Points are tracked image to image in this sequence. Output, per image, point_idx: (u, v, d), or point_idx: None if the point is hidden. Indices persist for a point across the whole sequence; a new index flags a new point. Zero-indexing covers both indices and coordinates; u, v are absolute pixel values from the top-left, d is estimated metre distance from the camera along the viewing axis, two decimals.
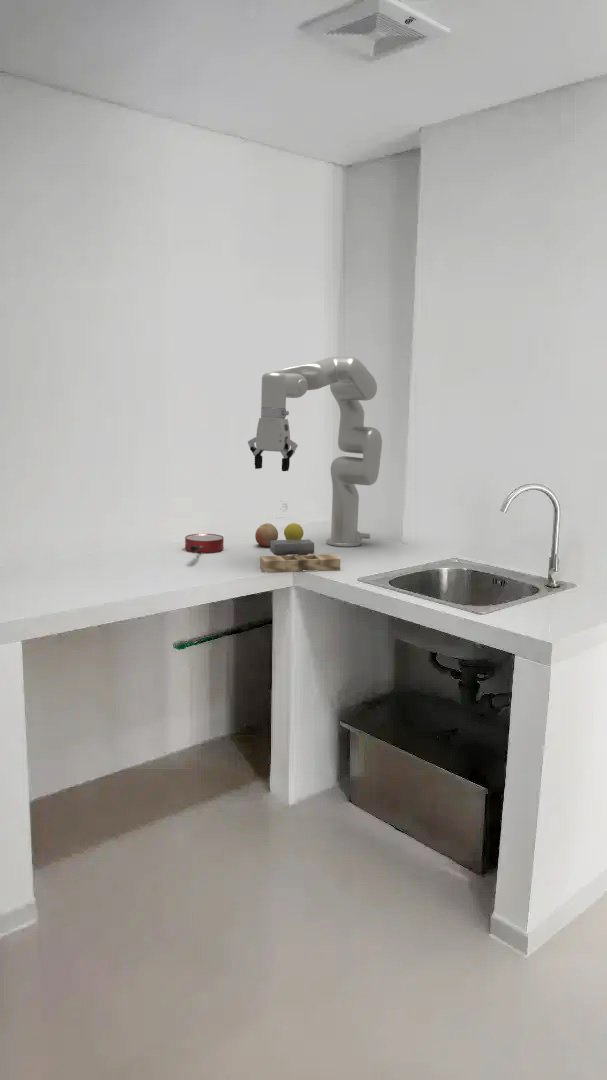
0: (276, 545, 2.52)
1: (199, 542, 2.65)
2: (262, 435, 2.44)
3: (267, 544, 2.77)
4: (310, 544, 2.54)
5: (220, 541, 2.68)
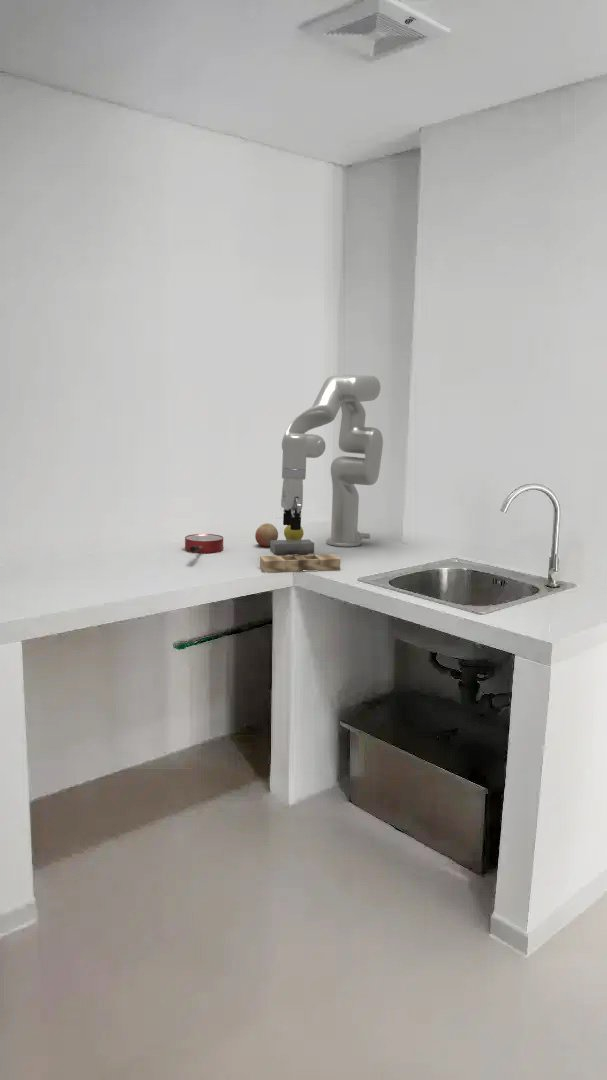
0: (276, 545, 2.52)
1: (199, 542, 2.65)
2: None
3: (267, 544, 2.77)
4: (310, 544, 2.54)
5: (220, 541, 2.68)
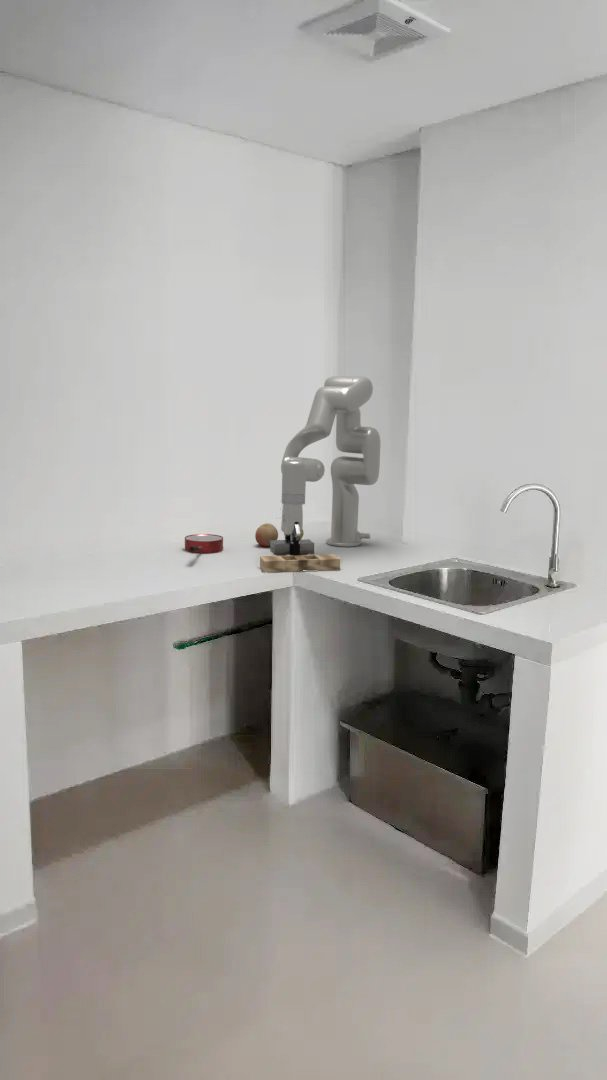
0: (276, 545, 2.52)
1: (198, 542, 2.64)
2: None
3: (267, 544, 2.77)
4: (310, 544, 2.54)
5: (220, 541, 2.68)
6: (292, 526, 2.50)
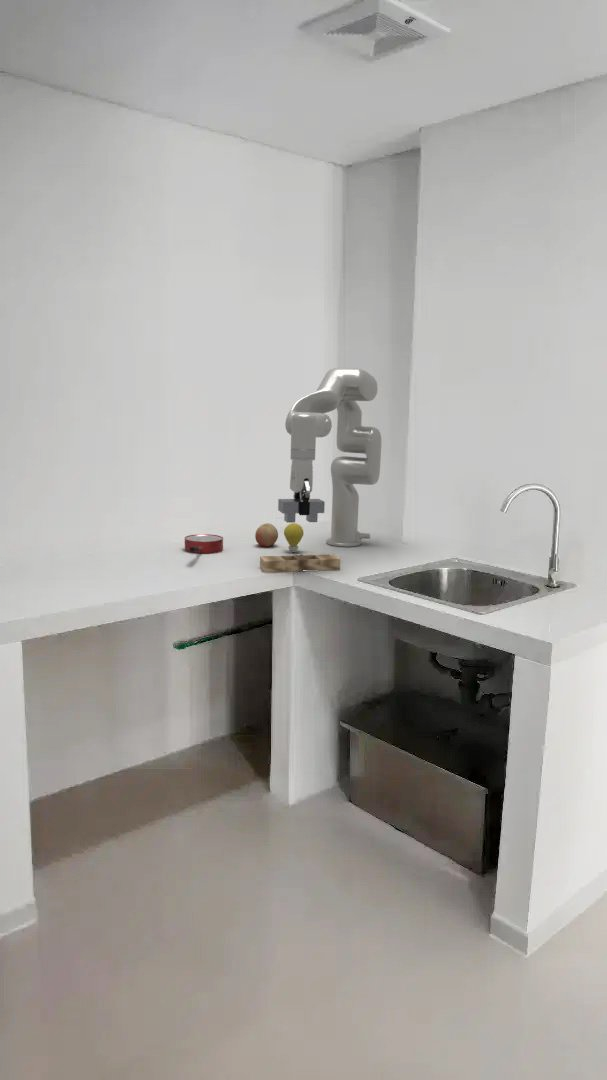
0: (284, 503, 2.39)
1: (198, 543, 2.64)
2: None
3: (267, 544, 2.77)
4: (320, 502, 2.42)
5: (220, 542, 2.67)
6: (302, 483, 2.37)
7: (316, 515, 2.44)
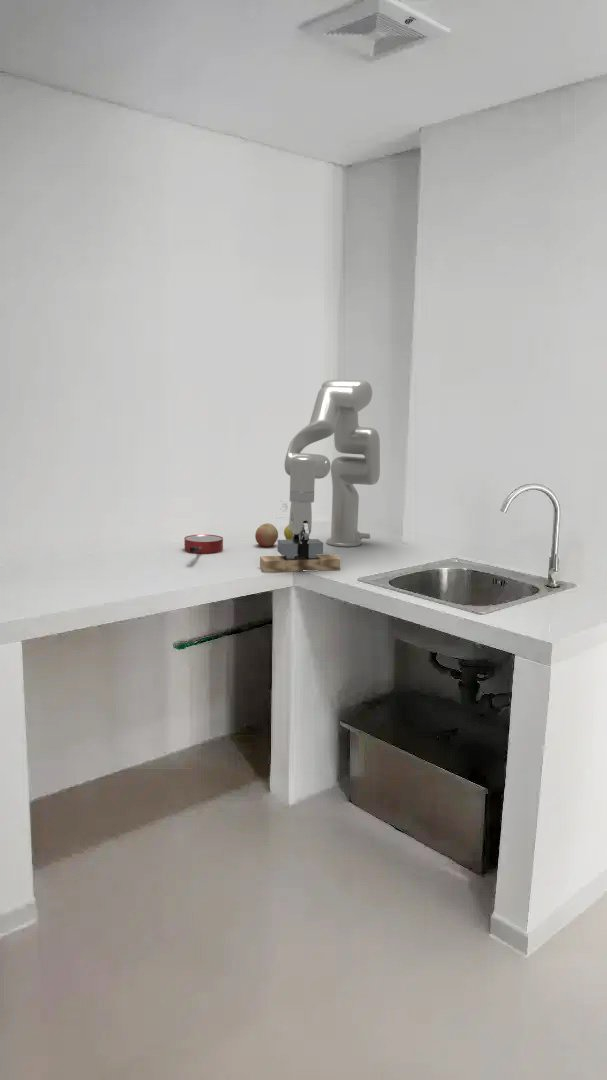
0: (284, 545, 2.41)
1: (198, 543, 2.64)
2: None
3: (267, 544, 2.77)
4: (319, 544, 2.44)
5: (219, 542, 2.67)
6: (301, 525, 2.40)
7: (315, 556, 2.46)
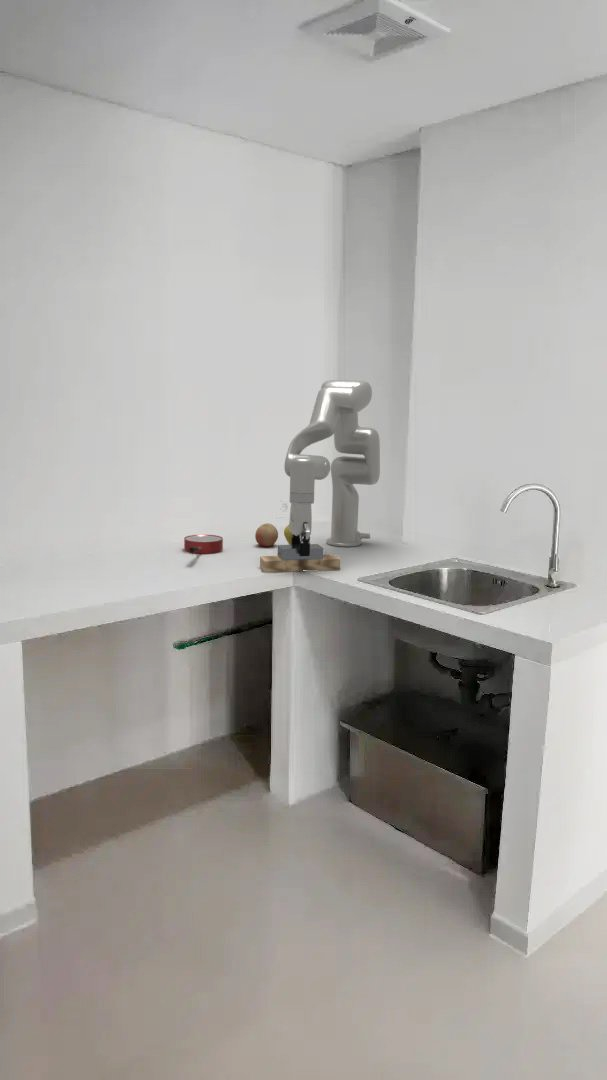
0: (284, 550, 2.42)
1: (198, 543, 2.63)
2: None
3: (267, 544, 2.77)
4: (319, 549, 2.45)
5: (219, 542, 2.67)
6: (301, 526, 2.40)
7: None
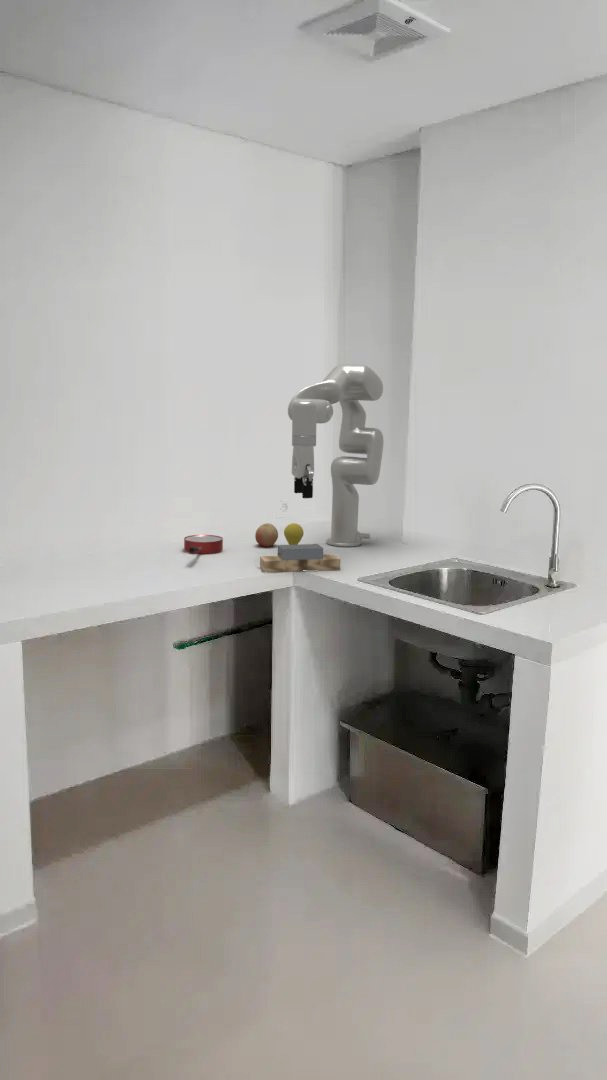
0: (284, 550, 2.42)
1: (198, 543, 2.63)
2: None
3: (267, 544, 2.77)
4: (319, 549, 2.45)
5: (219, 542, 2.67)
6: (303, 469, 2.43)
7: None
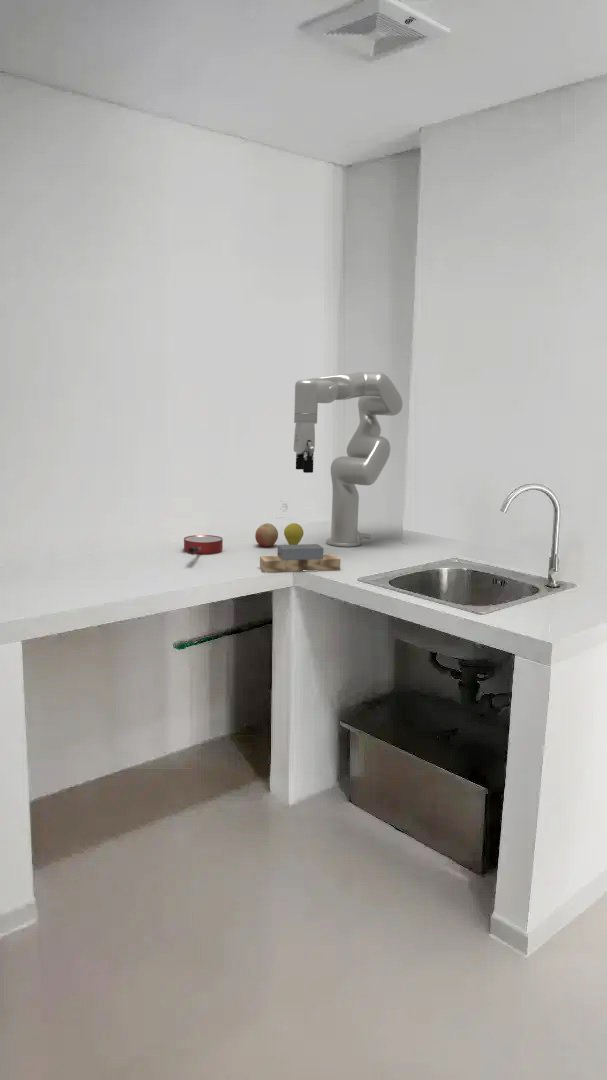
0: (284, 550, 2.42)
1: (198, 543, 2.63)
2: None
3: (267, 544, 2.77)
4: (319, 549, 2.45)
5: (219, 542, 2.66)
6: (305, 444, 2.56)
7: None
